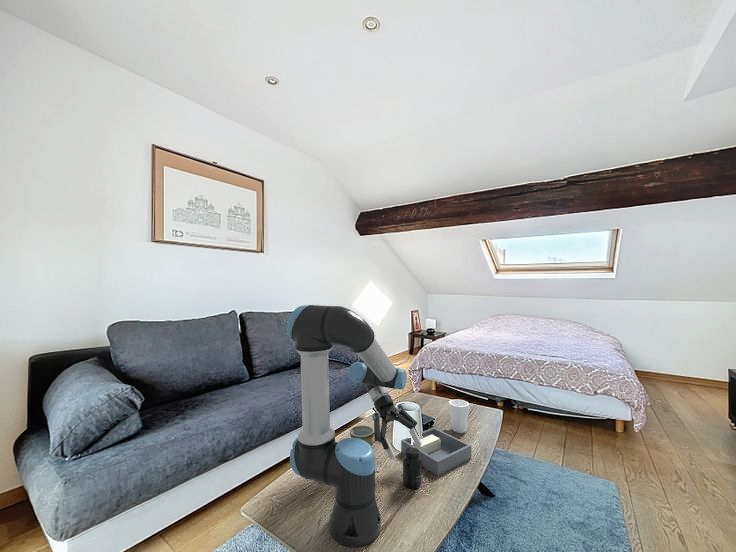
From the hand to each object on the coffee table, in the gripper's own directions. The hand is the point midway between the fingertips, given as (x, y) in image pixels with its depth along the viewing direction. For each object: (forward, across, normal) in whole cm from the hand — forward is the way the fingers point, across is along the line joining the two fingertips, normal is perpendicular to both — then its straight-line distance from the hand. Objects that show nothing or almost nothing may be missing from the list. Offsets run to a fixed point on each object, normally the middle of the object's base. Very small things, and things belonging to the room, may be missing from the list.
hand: (406, 451), depth 116 cm
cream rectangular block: (+1, -19, -11) cm, 22 cm away
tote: (+5, -19, -8) cm, 21 cm away
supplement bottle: (+10, +2, -4) cm, 10 cm away
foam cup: (-2, -47, -15) cm, 49 cm away
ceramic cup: (-8, +3, -22) cm, 24 cm away
